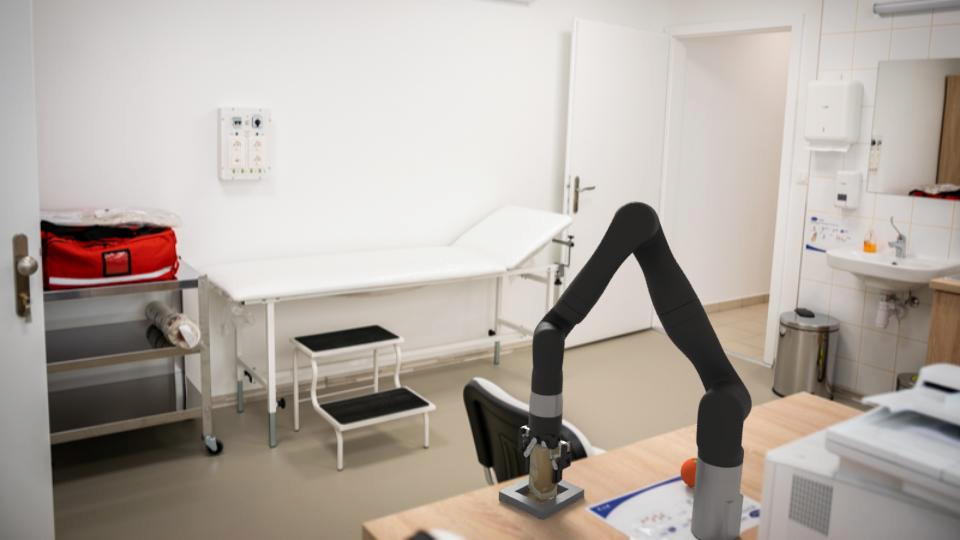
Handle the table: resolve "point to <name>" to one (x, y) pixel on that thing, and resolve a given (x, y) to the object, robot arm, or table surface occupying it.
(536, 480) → the skincare box
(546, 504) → the holder
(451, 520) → the table surface
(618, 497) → the table surface
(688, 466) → the clementine
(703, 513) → the robot arm
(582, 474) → the table surface
